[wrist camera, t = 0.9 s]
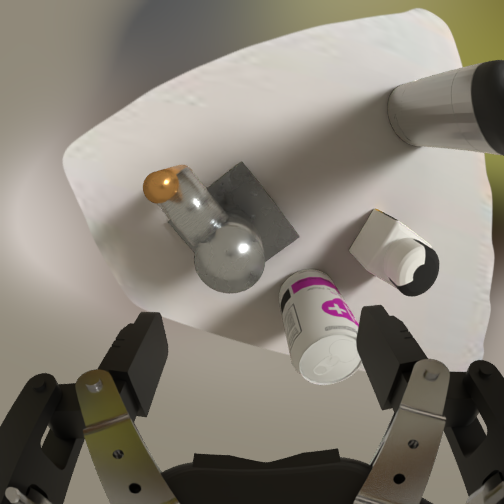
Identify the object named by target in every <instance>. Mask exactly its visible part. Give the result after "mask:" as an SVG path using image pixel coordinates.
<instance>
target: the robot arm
mask: <svg viewBox="0 0 504 504" xmlns="http://www.w3.org/2000/svg"><path fill="white" fill-rule="evenodd" d="M388 117H389V120H390V123H391V125H392V127H393V129H394V131H395V132H396V134H397V135H398V136H399V137H400V138H401V139H402V140H403V141H405V142H406V143H408V144H411V145H414V146H424V147H436V148H448V149H458V150H467V151H475V152H483V153H491V154H497V155H504V61H503V60H495V61H489V62H485V63H480V64H475V65H471V66H467V67H463V68H459V69H455V70H451V71H447V72H443V73H440V74H436V75H432V76H429V77H425V78H422V79H419V80H415V81H412V82H409V83H406V84H402V85H400V86H398V87H397V88H395V89H394V91H393V92H392V93H391V95H390V97H389V101H388ZM356 346H357V351H358V354H359V356H360V359H361V361H362V363H363V366H364V368H365V370H366V373H367V375H368V377H369V380H370V382H371V384H372V387H373V389H374V392H375V394H376V397H377V399H378V402H379V404H380V407H381V409H382V410H386V409H391V408H393V410H394V415H393V416H392V419H391V421H390V423H389V425H388V428H387V430H386V432H385V434H384V436H383V439H382V441H381V443H380V445H379V447H378V449H377V451H376V453H375V455H374V457H373V458H372V460H371V462H370V464H367V463H364V462H361V461H358V460H354V459H350V458H342V457H340V456H339V451H338V449H331V450H323V451H315V452H306V453H301V454H298V455H294V456H291V457H287V458H284V459H280V460H276V461H272V462H266V463H265V462H259V461H254V460H249V459H244V458H239V457H235V456H230V455H210V454H196V453H195V454H194V459H193V462H192V463H187V464H182V465H178V466H175V467H173V468H170V469H168V470H166V471H164V472H162V471H161V470H160V468H159V467H158V465H157V464H156V462H155V460H154V459H153V457H152V455H151V453H150V452H149V450H148V448H147V446H146V445H145V443H144V441H143V439H142V437H141V435H140V433H139V431H138V429H137V428H136V426H135V424H134V421H135V418H136V416H142V417H147V415H148V412H149V409H150V406H151V403H152V400H153V397H154V394H155V391H156V388H157V385H158V382H159V379H160V377H161V374H162V371H163V368H164V365H165V363H166V359H167V356H168V343H167V339H166V334H165V330H164V326H163V322H162V317H161V314H160V313H159V312H141V313H140V314H139V316H138V318H137V319H136V321H135V323H134V324H131V323H130V324H128V325H127V326H126V327H124V328H123V329H122V330H121V331H120V332H119V334H118V336H117V337H116V340H115V341H114V342H113V344H112V347H110V349H109V351H108V353H107V354H106V356H105V357H104V359H103V361H102V362H101V364H100V366H99V367H98V369H96V370H90V371H88V372H85V373H84V374H82V375H81V376H80V377H79V378H78V379H77V381H76V383H73V384H58V383H57V381H56V380H55V378H54V376H52V375H50V374H47V373H42V374H38V375H36V376H34V377H32V378H31V379H30V380H29V381H28V382H27V383H26V385H25V386H24V388H23V390H22V391H21V393H20V394H19V396H18V398H17V399H16V401H15V402H14V404H13V406H12V407H11V409H10V411H9V412H8V414H7V416H6V418H5V419H4V421H3V423H2V425H1V426H0V504H63V502H64V499H65V496H66V492H67V489H68V486H69V483H70V480H71V476H72V474H73V471H74V468H75V464H76V462H77V458H78V456H79V453H80V450H81V448H82V445H83V442H84V439H85V440H86V443H87V446H88V449H89V452H90V455H91V458H92V461H93V463H94V466H95V469H96V471H97V474H98V476H99V479H100V481H101V483H102V486H103V488H104V490H105V493H106V495H107V497H108V499H109V502H110V504H433V503H431V502H429V501H427V500H426V499H424V498H422V496H423V493H424V491H425V488H426V485H427V483H428V480H429V477H430V474H431V471H432V468H433V465H434V462H435V459H436V456H437V452H438V449H439V446H440V442H441V438H442V434H443V431H444V432H445V434H446V437H447V439H448V442H449V444H450V446H451V449H452V452H453V454H454V457H455V459H456V462H457V465H458V467H459V470H460V472H461V475H462V478H463V481H464V484H465V487H466V490H467V493H468V496H469V498H468V500H467V502H466V504H504V378H503V376H502V375H501V373H500V372H499V371H498V369H497V368H496V367H495V366H494V365H493V364H491V363H489V362H487V361H484V360H477V361H474V362H472V363H471V364H470V366H469V368H468V370H467V372H449V370H448V368H447V367H446V366H445V365H444V364H443V363H442V362H440V361H437V360H434V359H428V358H427V356H426V355H425V353H424V352H423V350H422V349H421V347H420V346H419V345H418V343H417V342H416V340H415V339H414V338H413V336H412V335H411V333H410V332H408V329H407V327H406V326H405V325H404V323H403V322H402V321H400V320H399V319H397V318H396V317H395V316H389V315H388V313H387V312H386V310H385V309H384V307H383V306H382V305H374V306H364V307H363V308H362V311H361V316H360V322H359V327H358V333H357V338H356ZM478 413H480V414H481V416H482V418H483V420H484V422H485V424H486V426H487V436H486V434H485V432H484V430H483V428H482V426H481V424H480V422H479V420H478V419H477V415H478ZM47 426H49V428H50V430H49V432H48V434H47V437H46V439H45V441H44V443H43V446H42V448H41V445H40V442H41V438H42V436H43V434H44V432H45V430H46V428H47Z"/></svg>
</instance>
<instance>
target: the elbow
mask: <svg viewBox="0 0 504 504" xmlns="http://www.w3.org/2000/svg"><path fill="white" fill-rule="evenodd" d="M143 191H144V194H145V196H146V198H147V199H148V200H149V201H151V202H153V203H157V205H158V206H159V207H160V208H161V209H162V210H163V212H164V213H165V214H166V215H167V216H168V218H169V219H170V220H171V221H172V222H173V223H174V225H175V226H176V227H177V228H178V229H179V231H180V232H181V233H182V234H183V235H184V236H185V238H186V239H187V240H188V241H189V242H190V243H191V244H192V246H196V245H198V246H197V248H196V252H195V257H194V263H195V268H196V271H197V273H198V275H199V277H200V278H201V280H202V281H203V282H204V283H205V284H206V285H207V286H209V287H210V288H212V289H214V290H216V291H219V292H223V293H238V292H242V291H244V290H247V289H249V288H250V287H252V286H253V285H254V284H255V283H256V282H257V281H258V280H259V278H260V277H261V275H262V273H263V270H264V266H265V256H264V250H263V245H262V240H261V237H260V234H259V233H258V231H257V230H256V228H255V227H254V226H253V225H252V224H250V223H249V222H247V221H246V220H243V219H241V218H236V217H229V216H228V215H227V213H226V212H225V211H224V210H223V208H222V207H221V206H220V205H219V204H218V202H217V201H216V200H215V199H214V198H213V196H212V195H211V194H210V193H209V191H208V190H207V189H206V188H205V187H204V185H203V184H202V183H201V182H200V181H199V179H198V178H197V177H196V176H195V174H194V173H193V172H192V170H191V169H190V168H189V167H188V166H186V165H178V166H174V167H170V168H167V169H163V170H160V171H156V172H153V173H151V174H149V175H148V176H147V177H146V179H145V180H144V183H143Z"/></svg>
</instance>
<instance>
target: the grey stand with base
mask: <svg viewBox="0 0 504 504" xmlns="http://www.w3.org/2000/svg"><path fill="white" fill-rule="evenodd" d="M207 190H208V191H209V193H210V194H211V195H212V196H213V198H214V199H215V200H216V201H217V202H218V204H219V205H220V206H221V207H222V208H223V210H224V211H225V212H226V213H227V215H228V216H229V217H236V218H241V219H243V220H246V221H247V222H249V223H250V224H252V225H253V226H254V227H255V228H256V230H257V231H258V233H259V234H260V237H261V240H262V245H263V250H264V256H265V262H266V261H267V260H268V259H270V258H271V257H273V256H274V255H275V254H277V253H278V252H279V251H281V250H282V249H284V248H285V247H286V246H288V245H289V244H291V243H292V242H293V241H295V240H296V239H297V238H299V235H298V234H297V232H296V231H295V230H294V228H293V227H292V226H291V224H290V223H289V222H288V220H287V219H286V218H285V216H284V215H283V214H282V212H281V211H280V210H279V208H278V207H277V206H276V204H275V203H274V202H273V200H272V199H271V198H270V197H269V195H268V194H267V193H266V191H265V190H264V189H263V187H262V186H261V185H260V184H259V182H258V181H257V180H256V179H255V177H254V176H253V175H252V173H251V172H250V171H249V170H248V168H247V167H246V166H245V165H244V163H243V162H240V163H239V164H238V165H236V166H235V167H234V168H233V169H231V170H230V171H229V172H227V173H226V174H225V175H224V176H222V177H221V178H220V179H219V180H217V181H216V182H215V183H214V184H212V185H211V186H210V187H209V188H207ZM168 223H169V224H170V225H171V226H172V227H173V228H174V230H175V231H176V232H177V233H178V234H179V235H180V237H181V238H182V239H183V240H184V241H185V242H186V244H187V245H188V246H189V247H190V248H191V249H192V250H193V252H194V253H195V252H196V248H197V246H198V245H196V246H192V244H191V243H190V242H189V241H188V240H187V239H186V238H185V236H184V235H183V234H182V233H181V232H180V231H179V229H178V228H177V227H176V226H175V225H174V223H173V222H172V221H171V220H169V221H168Z"/></svg>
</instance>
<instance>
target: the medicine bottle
mask: <svg viewBox="0 0 504 504" xmlns="http://www.w3.org/2000/svg"><path fill="white" fill-rule="evenodd" d="M349 252H350V253H351V254H352V255H353V256H354V257H355V258H356V259H357V260H358V261H359V263H360V264H361V265H362V266H363V267H364V268H365V269H366V270H367V271H368V272H370V273H371V274H373V275H375V276H377V277H378V278H380V279H382V280H384V281H385V282H387V283H389V284H390V285H392V286H394V287H395V288H397V289H398V290H399V291H400V292H401V293H403V294H404V295H406V296H418V295H420V294H422V293H424V292H426V291H427V290H428V289H429V288H430V287H431V286H432V285H433V283H434V282H435V280H436V278H437V275H438V272H439V259H438V256H437V254H436V252H435V251H434V250H433V249H432V246H431V245H430V244H429V243H428V242H426V241H425V240H424V239H422V238H421V237H420V236H419V235H417V234H416V233H415V232H413V231H412V230H411V229H409V228H408V227H407V226H405V225H404V224H403V223H401V222H400V221H398V220H397V219H395V218H393V217H391V216H389V215H387V214H385V213H384V212H382V211H380V210H378V209H374V210H373V211H372V213H371V215H370V216H369V218H368V220H367V221H366V223H365V225H364V226H363V228H362V230H361V231H360V233H359V235H358V236H357V238H356V240H355V241H354V243H353V244H352V246H351V248H350V249H349Z"/></svg>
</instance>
